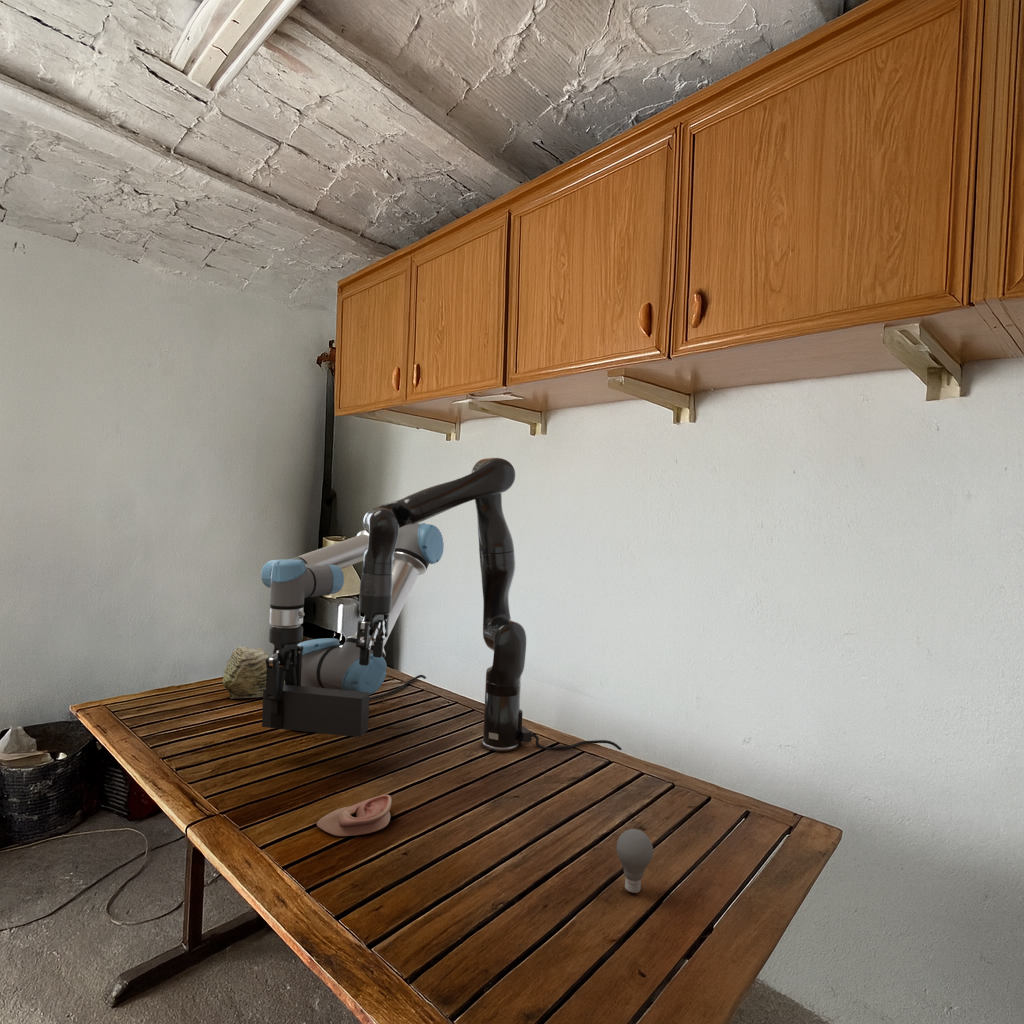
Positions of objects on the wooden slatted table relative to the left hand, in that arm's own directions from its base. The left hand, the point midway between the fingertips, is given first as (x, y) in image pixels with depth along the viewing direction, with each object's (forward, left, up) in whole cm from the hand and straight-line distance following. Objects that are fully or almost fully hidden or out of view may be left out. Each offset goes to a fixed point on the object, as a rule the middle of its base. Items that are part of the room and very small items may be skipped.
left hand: (282, 723), depth 150 cm
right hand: (-12, +16, +16) cm, 26 cm away
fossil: (-21, -50, -9) cm, 55 cm away
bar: (-4, +7, -1) cm, 8 cm away
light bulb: (-12, +86, -9) cm, 88 cm away
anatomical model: (+6, +35, -9) cm, 37 cm away
